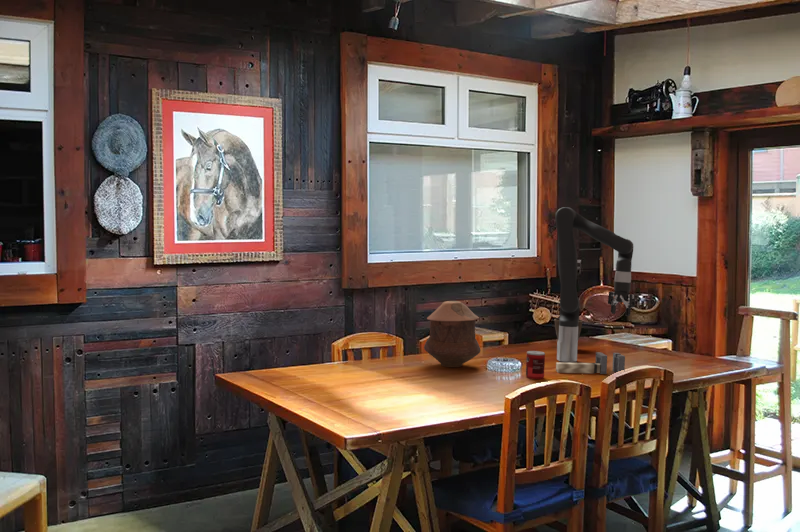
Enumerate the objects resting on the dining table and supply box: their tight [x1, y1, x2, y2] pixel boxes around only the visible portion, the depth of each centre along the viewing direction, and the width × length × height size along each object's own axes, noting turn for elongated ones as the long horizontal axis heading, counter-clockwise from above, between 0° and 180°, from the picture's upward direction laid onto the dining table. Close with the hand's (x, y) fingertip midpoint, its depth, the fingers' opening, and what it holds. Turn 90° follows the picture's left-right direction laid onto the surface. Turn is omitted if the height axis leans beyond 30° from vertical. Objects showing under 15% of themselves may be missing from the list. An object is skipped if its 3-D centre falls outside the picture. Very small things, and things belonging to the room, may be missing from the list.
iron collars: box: [594, 351, 626, 375], centre depth 351 cm, size 10×9×8 cm
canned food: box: [525, 350, 546, 380], centre depth 335 cm, size 8×8×11 cm
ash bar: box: [555, 361, 600, 374], centre depth 350 cm, size 20×4×4 cm, turn 91°
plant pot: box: [553, 318, 583, 341], centre depth 417 cm, size 15×15×16 cm
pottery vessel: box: [423, 300, 481, 368], centre depth 356 cm, size 26×26×30 cm
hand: (620, 314), depth 369 cm, fingers open, 8 cm apart
